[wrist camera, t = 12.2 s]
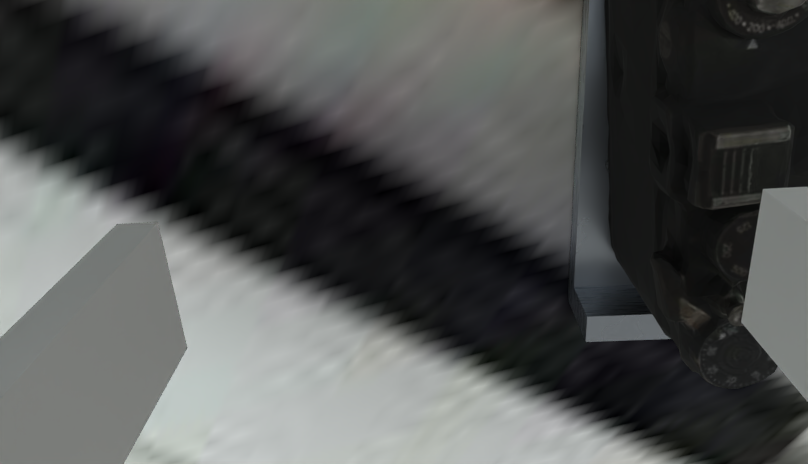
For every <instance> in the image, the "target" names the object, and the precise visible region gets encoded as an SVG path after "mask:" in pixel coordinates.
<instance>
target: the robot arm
mask: <svg viewBox="0 0 808 464" xmlns="http://www.w3.org/2000/svg"><path fill="white" fill-rule="evenodd" d="M741 323H742V324H743V325H744V326H745V327H746V329H747V330H748V331H749V332H750V333H751V334H752V336H753V337H754V338H755V339H756V340H757V342H758V343H759V344H760V345H761V346H762V348H763V349H764V350H765V351H766V352H767V354H768V355H769V356H770V357H771V358H772V360H773V361H774V362H775V363H776V364H777V366H778V367H779V368H780V369H781V370H782V372H783V373H784V374H785V375H786V376H787V378H788V379H789V380H790V381H791V382H792V384H793V385H794V386H795V387H796V388H797V390H798V391H799V392H800V393H801V394H802V396H803V397H804V398H805V399H806V400H807V402H808V187H790V188H772V189H763V191H762V197H761V204H760V210H759V216H758V222H757V228H756V234H755V240H754V246H753V253H752V259H751V265H750V271H749V277H748V283H747V289H746V295H745V301H744V308H743V314H742V320H741ZM186 349H187V344H186V340H185V336H184V332H183V327H182V323H181V319H180V315H179V310H178V306H177V302H176V297H175V293H174V289H173V285H172V280H171V276H170V272H169V268H168V263H167V259H166V255H165V251H164V246H163V242H162V238H161V234H160V229H159V225H158V222H150V223H131V224H117V225H116V226H115V227H114V228H113V229H112V230H111V231H110V232H109V233H108V234H107V235H106V236H105V237H103V238H102V239H101V240H100V241H99V242H98V243H97V244H96V245H95V246H94V247H93V248H92V249H91V250H90V251H89V252H88V253H87V254H86V255H85V256H84V257H83V258H82V259H81V260H80V261H79V262H78V263H77V264H76V265H75V266H74V267H73V268H72V269H71V270H70V271H69V272H68V273H67V274H66V275H65V276H64V277H62V278H61V279H60V280H59V281H58V282H57V283H56V284H55V285H54V286H53V287H52V288H51V289H50V290H49V291H48V292H47V293H46V294H45V295H44V296H43V297H42V298H41V299H40V300H39V301H38V302H37V303H36V304H35V305H34V306H33V307H32V308H31V309H30V310H29V311H28V312H27V313H26V314H25V315H24V316H23V317H21V318H20V319H19V320H18V321H17V322H16V323H15V324H14V325H13V326H12V327H11V328H10V329H9V330H8V331H7V332H6V333H5V334H4V335H3V336H2V337H1V338H0V464H124V462H125V460H126V458H127V457H128V455H129V453H130V451H131V449H132V447H133V446H134V444H135V442H136V440H137V438H138V437H139V435H140V433H141V431H142V429H143V427H144V426H145V424H146V422H147V420H148V418H149V417H150V415H151V413H152V411H153V409H154V408H155V406H156V404H157V402H158V400H159V398H160V397H161V395H162V393H163V391H164V389H165V388H166V386H167V384H168V382H169V380H170V378H171V377H172V375H173V373H174V371H175V369H176V368H177V366H178V364H179V362H180V360H181V358H182V357H183V355H184V353H185V351H186Z"/></svg>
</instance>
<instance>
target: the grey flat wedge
mask: <svg viewBox="0 0 808 464" xmlns="http://www.w3.org/2000/svg"><path fill="white" fill-rule="evenodd" d="M608 138H609V125H608V116H607V63H606V26H605V0H583V17H582V36H581V55H580V75H579V94H578V114H577V133H576V152H575V172H574V191H573V210H572V230H571V249H570V269H569V288H568V301H569V303H570V306H571V308H572V311H573V313H574V315H575V318H576V320H577V323H578V325H579V327H580V330H581V332H582V334H583V337H584V339H585V342H597V341H625V340H653V339H671V338H669V337H668V336H666V335H665V334H664V332H663V331H662V329H661V327H660V326H659V324H658V323H657V321H656V319H655V318H654V316H653V315H652V313H651V312H650V310H649V309H648V307H647V306H646V304H645V303H644V301H643V300H642V298H641V296H640V295H639V293H638V292H637V290H636V289H635V287H634V285H633V284H632V282H631V281H630V279H629V277H628V276H627V274H626V273H625V271H624V270H623V268H622V267H621V265H620V264H619V262H618V261H617V259H616V257H615V253H614V251H613V249H612V246H611V237H610V228H609V220H608V215H609V172H608Z"/></svg>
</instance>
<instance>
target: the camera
mask: <svg viewBox="0 0 808 464" xmlns="http://www.w3.org/2000/svg"><path fill="white" fill-rule="evenodd" d="M605 26H606V63H607V116H608V125H609V138H608V172H609V215H608V220H609V228H610V237H611V246H612V249H613V251H614V253H615V257H616V259H617V261H618V262H619V264H620V265H621V267H622V268H623V270H624V271H625V273H626V274H627V276H628V277H629V279H630V281H631V282H632V284H633V285H634V287H635V289H636V290H637V292H638V293H639V295H640V296H641V298H642V300H643V301H644V303H645V304H646V306H647V307H648V309H649V310H650V312H651V313H652V315H653V316H654V318H655V319H656V321H657V323H658V324H659V326H660V327H661V329H662V331H663V332H664V334H665V335H666V336H668V337H669V338H671V339H673V340H674V342H675V343H676V345H677V347H678V348H679V351H680V355H681V359H682V360H683V361H684V362H685V364H686V365H687V366H688V367H689V368H690V369H691V370H692V371H694V372H697V373H699V374H700V375H701V376H702V377H703V378H704V379H705V380H706V382H708V383H710V384H712V385H715V386H717V387H722V388H727V389H733V388H742V387H745V386H748V385H751V384H754V383H757V382H760V381H762V380H763V379H765V378H767V377H768V376H769V375H771V374H772V373H774V372H775V370H776V368H777V367H778V366H777V364H776V363H775V362H774V361H773V360H772V358H771V357H770V356H769V355H768V354H767V352H766V351H765V350H764V349H763V348H762V346H761V345H760V344H759V343H758V342H757V340H756V339H755V338H754V337H753V336H752V334H751V333H750V332H749V331H748V330H747V329H746V327H745V326H744V325H743V324H742V323H741V320H742V314H743V308H744V301H745V295H746V289H747V283H748V277H749V271H750V265H751V259H752V253H753V246H754V240H755V234H756V228H757V222H758V216H759V210H760V204H761V197H762V191H763V189H772V188H790V187H808V0H605Z"/></svg>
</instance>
